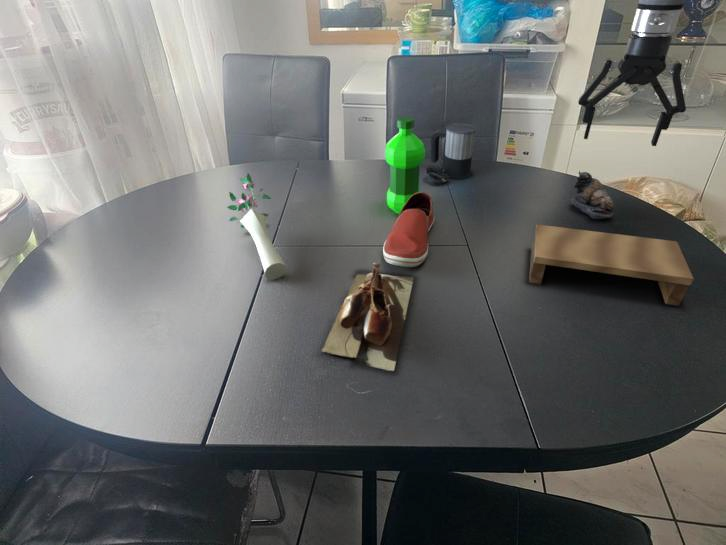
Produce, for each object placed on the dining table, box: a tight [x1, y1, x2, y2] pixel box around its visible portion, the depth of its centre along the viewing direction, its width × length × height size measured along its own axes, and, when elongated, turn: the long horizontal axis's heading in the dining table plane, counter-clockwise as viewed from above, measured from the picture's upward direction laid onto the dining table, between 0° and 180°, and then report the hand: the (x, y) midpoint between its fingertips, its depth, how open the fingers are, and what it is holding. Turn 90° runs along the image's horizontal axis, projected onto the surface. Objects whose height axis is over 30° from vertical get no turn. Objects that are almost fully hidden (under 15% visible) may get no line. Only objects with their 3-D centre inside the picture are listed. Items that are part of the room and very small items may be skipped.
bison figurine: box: [571, 170, 615, 220], centre depth 116 cm, size 12×7×10 cm, turn 27°
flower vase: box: [226, 172, 287, 280], centre depth 110 cm, size 12×12×35 cm
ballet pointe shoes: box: [321, 262, 415, 372], centre depth 86 cm, size 14×7×28 cm
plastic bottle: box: [384, 116, 426, 215], centre depth 117 cm, size 10×10×25 cm
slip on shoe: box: [382, 191, 435, 268], centre depth 107 cm, size 11×29×9 cm, turn 162°
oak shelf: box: [528, 224, 695, 307], centre depth 94 cm, size 28×14×7 cm, turn 71°
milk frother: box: [424, 122, 477, 185], centre depth 138 cm, size 14×16×15 cm
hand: (618, 140), depth 100 cm, fingers open, 13 cm apart
